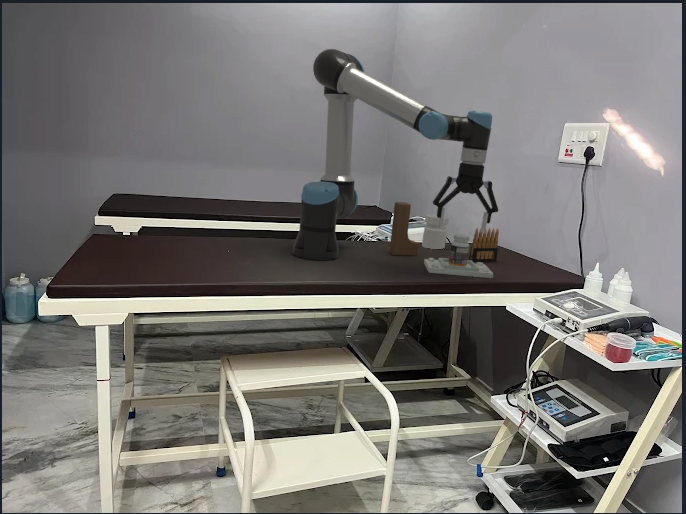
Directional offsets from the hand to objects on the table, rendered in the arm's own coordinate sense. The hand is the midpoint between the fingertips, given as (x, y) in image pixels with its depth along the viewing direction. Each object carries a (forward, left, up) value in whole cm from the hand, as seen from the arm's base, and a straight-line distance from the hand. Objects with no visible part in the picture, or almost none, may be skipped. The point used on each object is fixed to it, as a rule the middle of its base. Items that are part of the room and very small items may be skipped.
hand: (461, 230), depth 175 cm
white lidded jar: (-3, +34, -13) cm, 36 cm away
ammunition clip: (+12, +17, -13) cm, 25 cm away
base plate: (0, 0, -13) cm, 13 cm away
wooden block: (-16, +17, -13) cm, 26 cm away
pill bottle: (0, 0, -12) cm, 12 cm away
